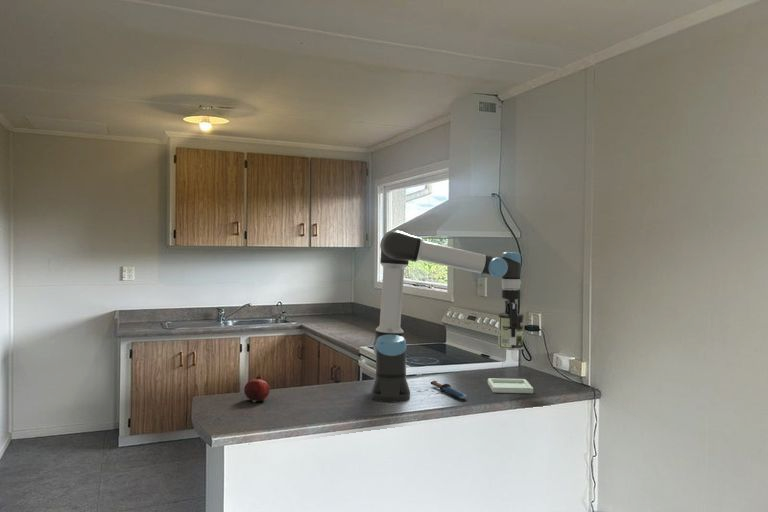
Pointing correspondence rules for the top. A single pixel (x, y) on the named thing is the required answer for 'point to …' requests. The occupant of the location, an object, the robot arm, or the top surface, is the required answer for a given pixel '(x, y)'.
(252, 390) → the fruit
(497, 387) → the tray
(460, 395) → the knife
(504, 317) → the coffee can
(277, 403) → the top surface
